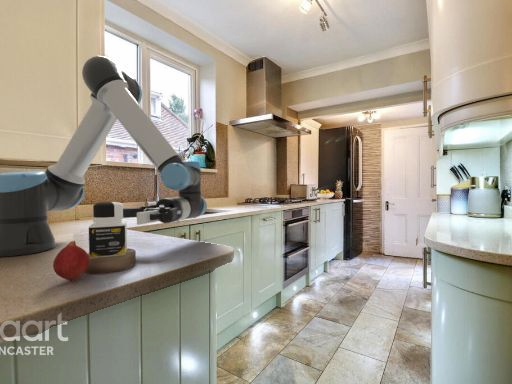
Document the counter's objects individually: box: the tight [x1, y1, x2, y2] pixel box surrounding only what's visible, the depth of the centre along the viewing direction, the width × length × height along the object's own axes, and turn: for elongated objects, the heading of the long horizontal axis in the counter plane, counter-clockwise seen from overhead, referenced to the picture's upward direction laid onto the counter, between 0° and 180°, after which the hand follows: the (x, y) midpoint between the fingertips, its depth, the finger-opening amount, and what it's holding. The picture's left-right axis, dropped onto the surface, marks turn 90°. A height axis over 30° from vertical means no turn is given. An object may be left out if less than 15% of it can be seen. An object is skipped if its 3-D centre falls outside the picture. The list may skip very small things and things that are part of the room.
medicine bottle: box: [88, 201, 128, 259], centre depth 63 cm, size 7×7×12 cm
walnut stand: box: [83, 247, 137, 275], centre depth 63 cm, size 11×11×3 cm
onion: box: [52, 240, 89, 282], centre depth 53 cm, size 6×6×8 cm
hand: (115, 217), depth 64 cm, fingers open, 13 cm apart
